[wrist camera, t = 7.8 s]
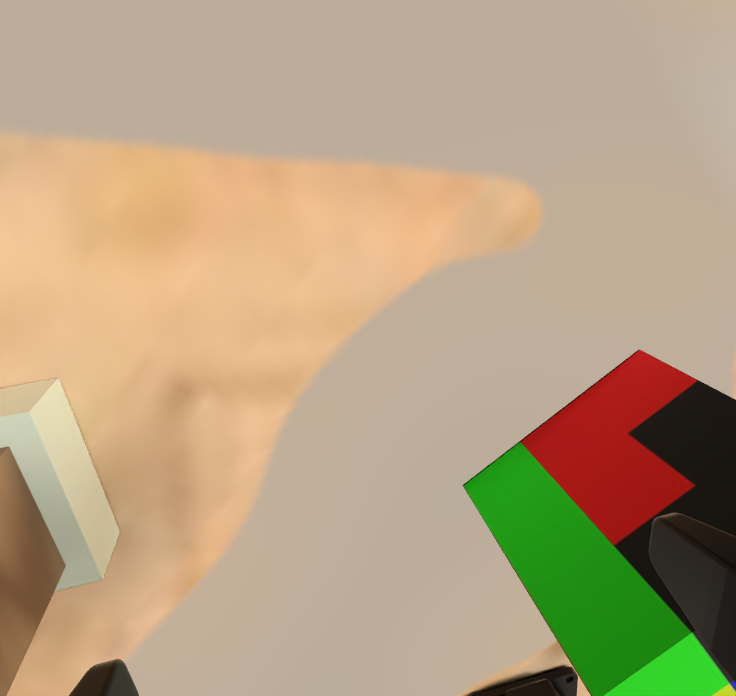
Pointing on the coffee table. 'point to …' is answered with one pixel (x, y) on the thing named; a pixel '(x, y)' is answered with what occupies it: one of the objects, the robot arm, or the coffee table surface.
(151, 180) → the coffee table surface
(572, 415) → the puzzle toy
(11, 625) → the walnut cube
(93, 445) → the coffee table surface
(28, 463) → the pale green block
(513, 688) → the robot arm
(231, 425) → the coffee table surface
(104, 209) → the coffee table surface
